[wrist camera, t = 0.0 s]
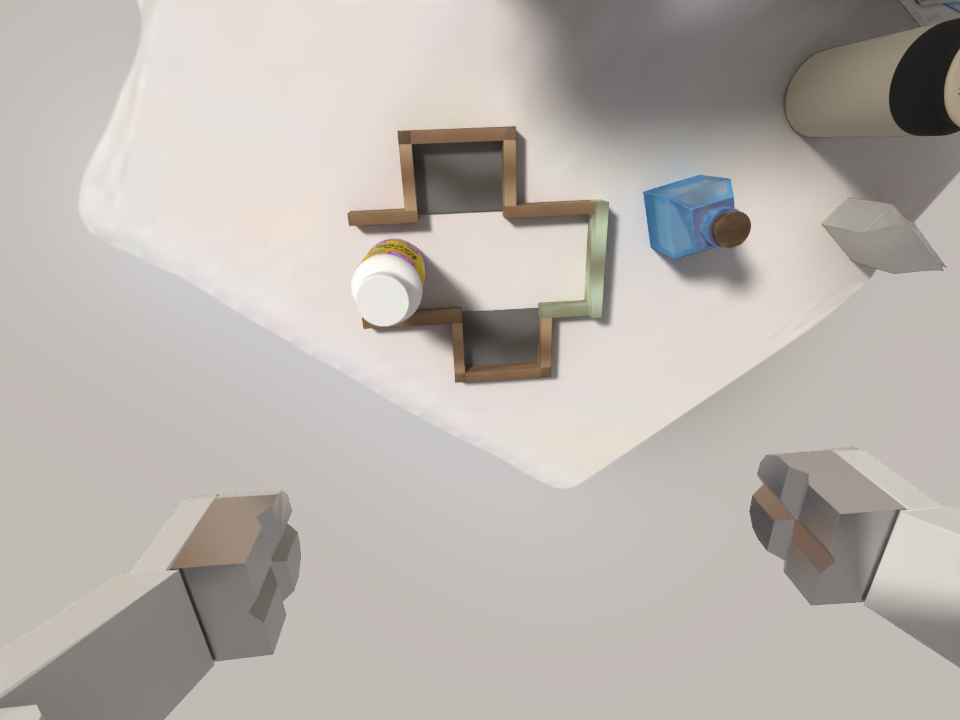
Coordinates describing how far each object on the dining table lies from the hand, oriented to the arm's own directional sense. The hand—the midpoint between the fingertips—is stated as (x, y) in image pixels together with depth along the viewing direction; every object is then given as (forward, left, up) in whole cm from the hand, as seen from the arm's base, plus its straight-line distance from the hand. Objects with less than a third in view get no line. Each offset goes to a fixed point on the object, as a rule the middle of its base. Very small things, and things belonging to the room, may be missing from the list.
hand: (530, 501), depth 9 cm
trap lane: (+7, +3, -48) cm, 49 cm away
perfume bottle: (+2, +24, -48) cm, 54 cm away
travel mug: (-9, +38, -48) cm, 62 cm away
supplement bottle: (+7, -7, -48) cm, 49 cm away
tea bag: (+5, +45, -48) cm, 66 cm away
